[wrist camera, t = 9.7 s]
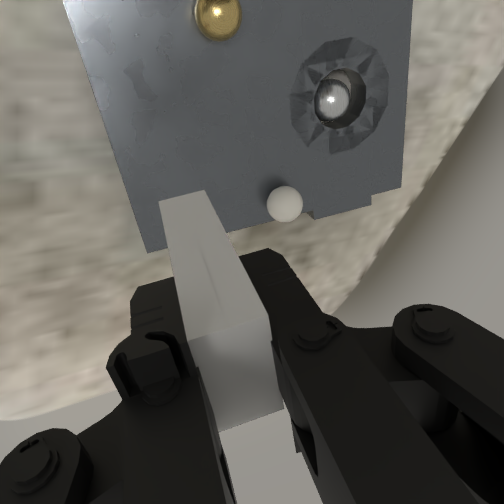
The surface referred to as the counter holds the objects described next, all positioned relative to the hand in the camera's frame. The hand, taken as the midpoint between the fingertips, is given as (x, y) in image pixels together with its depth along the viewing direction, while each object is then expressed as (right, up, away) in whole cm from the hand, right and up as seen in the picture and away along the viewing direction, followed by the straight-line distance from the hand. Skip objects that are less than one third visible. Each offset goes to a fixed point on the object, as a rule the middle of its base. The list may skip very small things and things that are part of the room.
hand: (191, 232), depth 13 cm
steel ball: (+8, +12, +19) cm, 23 cm away
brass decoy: (0, +14, +11) cm, 18 cm away
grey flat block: (+3, +11, +19) cm, 22 cm away
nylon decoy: (+5, +3, +19) cm, 20 cm away
